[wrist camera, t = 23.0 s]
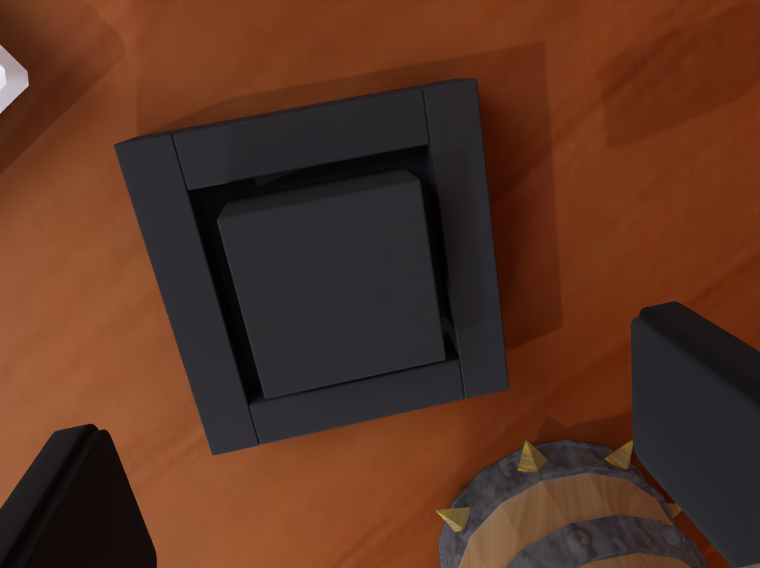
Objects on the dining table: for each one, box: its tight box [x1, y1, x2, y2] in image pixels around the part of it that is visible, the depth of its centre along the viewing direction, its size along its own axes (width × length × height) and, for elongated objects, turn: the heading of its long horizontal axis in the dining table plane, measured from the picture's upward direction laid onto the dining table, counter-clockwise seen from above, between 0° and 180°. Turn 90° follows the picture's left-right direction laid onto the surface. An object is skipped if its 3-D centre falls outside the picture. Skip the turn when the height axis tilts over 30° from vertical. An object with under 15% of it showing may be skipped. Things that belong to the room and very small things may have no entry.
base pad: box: [114, 78, 509, 456], centre depth 21 cm, size 11×11×2 cm
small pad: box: [217, 166, 446, 398], centre depth 19 cm, size 6×6×3 cm
